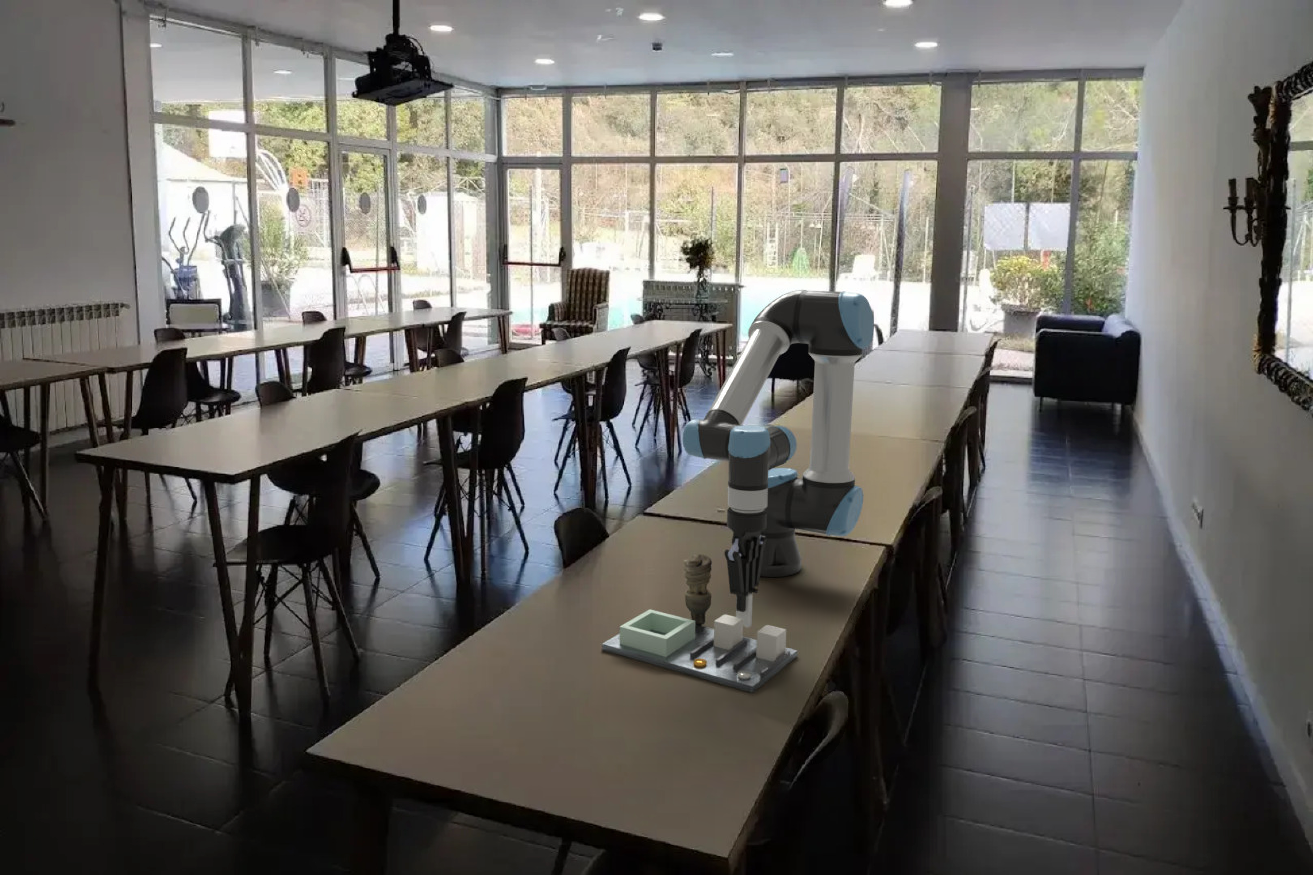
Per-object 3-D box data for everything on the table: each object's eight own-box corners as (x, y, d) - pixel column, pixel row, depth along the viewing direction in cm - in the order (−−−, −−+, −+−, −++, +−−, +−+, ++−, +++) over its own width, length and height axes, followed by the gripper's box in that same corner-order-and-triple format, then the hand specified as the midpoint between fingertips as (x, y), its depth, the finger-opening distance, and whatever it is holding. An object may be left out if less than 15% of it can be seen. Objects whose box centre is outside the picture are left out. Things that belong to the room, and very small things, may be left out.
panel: (653, 619, 208) (653, 609, 208) (796, 656, 191) (797, 645, 191) (602, 649, 193) (602, 638, 193) (752, 692, 176) (752, 681, 176)
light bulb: (687, 632, 202) (688, 560, 198) (679, 621, 207) (680, 551, 204) (714, 629, 203) (715, 557, 200) (705, 619, 208) (707, 549, 205)
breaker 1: (723, 638, 196) (724, 614, 195) (742, 643, 194) (743, 618, 193) (713, 645, 192) (714, 621, 191) (732, 650, 190) (732, 625, 189)
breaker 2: (766, 649, 191) (766, 624, 190) (785, 654, 189) (786, 629, 188) (756, 657, 188) (756, 631, 187) (775, 662, 186) (776, 636, 185)
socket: (649, 626, 201) (649, 609, 201) (694, 637, 196) (695, 620, 195) (619, 643, 193) (619, 626, 192) (666, 656, 187) (666, 639, 187)
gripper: (745, 497, 200) (742, 610, 205) (712, 512, 189) (709, 631, 194) (780, 503, 196) (775, 618, 201) (748, 519, 185) (744, 640, 190)
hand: (743, 625), depth 198 cm, fingers closed
